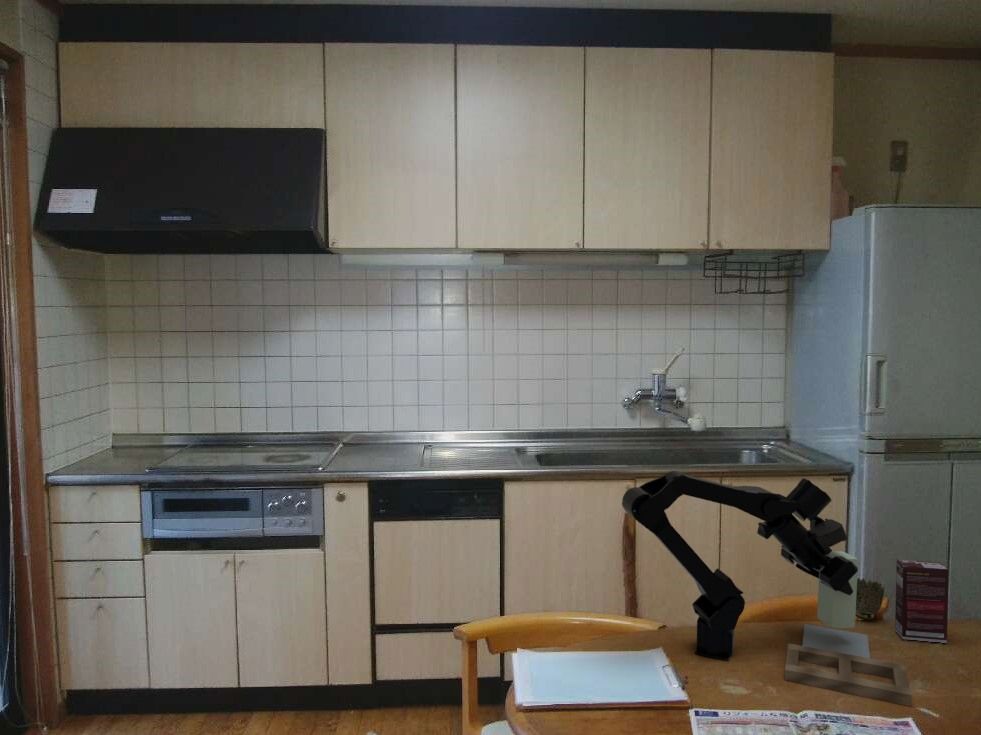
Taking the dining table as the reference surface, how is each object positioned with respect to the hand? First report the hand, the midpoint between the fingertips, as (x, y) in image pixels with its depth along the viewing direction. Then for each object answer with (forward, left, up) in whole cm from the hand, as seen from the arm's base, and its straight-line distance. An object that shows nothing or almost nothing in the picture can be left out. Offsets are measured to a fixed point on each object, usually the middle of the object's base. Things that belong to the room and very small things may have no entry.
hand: (843, 588), depth 141 cm
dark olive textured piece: (+5, +17, -12) cm, 22 cm away
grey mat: (-1, -1, -12) cm, 12 cm away
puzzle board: (0, -15, -12) cm, 19 cm away
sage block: (-1, -1, -7) cm, 7 cm away
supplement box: (+15, +11, -12) cm, 22 cm away
